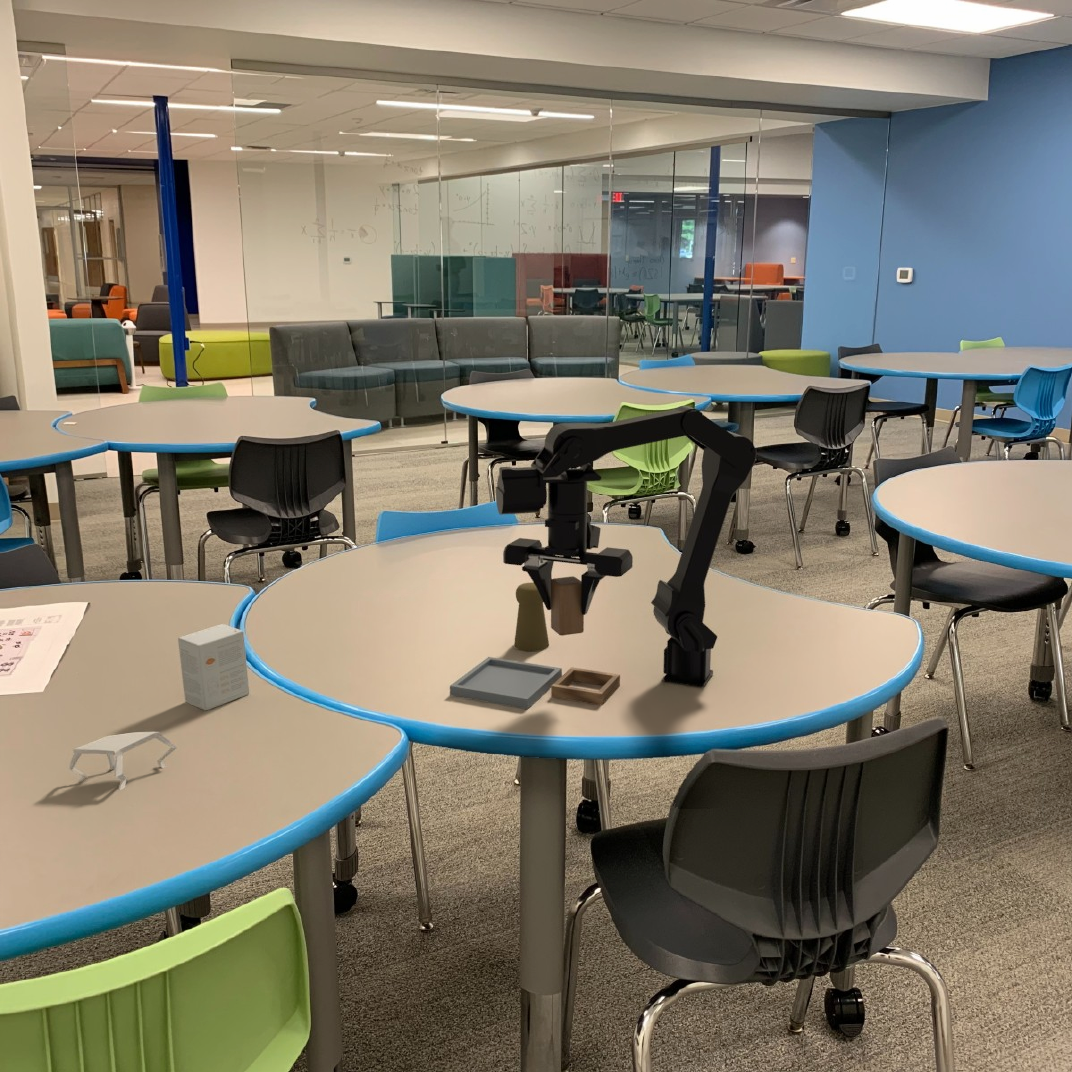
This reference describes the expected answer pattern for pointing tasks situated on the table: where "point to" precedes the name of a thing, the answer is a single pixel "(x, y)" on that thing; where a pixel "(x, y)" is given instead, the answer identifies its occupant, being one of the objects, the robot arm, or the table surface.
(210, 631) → the small box
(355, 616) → the table surface
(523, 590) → the olive pawn piece
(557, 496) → the robot arm
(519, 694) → the slate tray
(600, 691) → the walnut collar
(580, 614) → the wooden block
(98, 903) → the table surface
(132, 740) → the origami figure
